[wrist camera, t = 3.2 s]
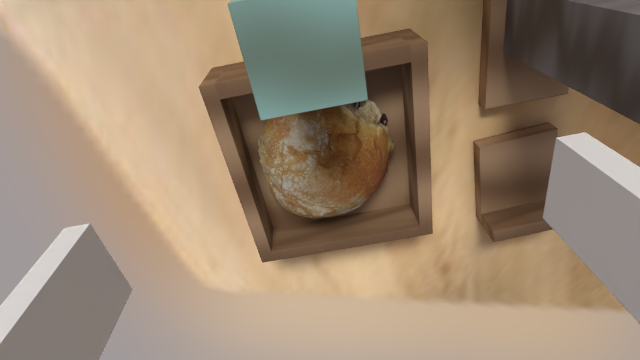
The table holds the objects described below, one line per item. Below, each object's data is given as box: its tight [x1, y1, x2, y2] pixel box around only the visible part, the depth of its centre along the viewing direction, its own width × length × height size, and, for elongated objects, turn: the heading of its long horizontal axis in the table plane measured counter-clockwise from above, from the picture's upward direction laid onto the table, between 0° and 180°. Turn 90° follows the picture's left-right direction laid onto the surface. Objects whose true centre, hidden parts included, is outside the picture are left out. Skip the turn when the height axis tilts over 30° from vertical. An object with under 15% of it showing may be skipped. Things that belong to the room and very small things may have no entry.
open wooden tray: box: [199, 0, 433, 262], centre depth 23 cm, size 20×14×14 cm
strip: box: [474, 123, 558, 242], centre depth 31 cm, size 8×6×4 cm
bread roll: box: [258, 100, 395, 218], centre depth 28 cm, size 10×10×8 cm
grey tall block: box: [479, 0, 640, 124], centre depth 21 cm, size 8×6×14 cm
